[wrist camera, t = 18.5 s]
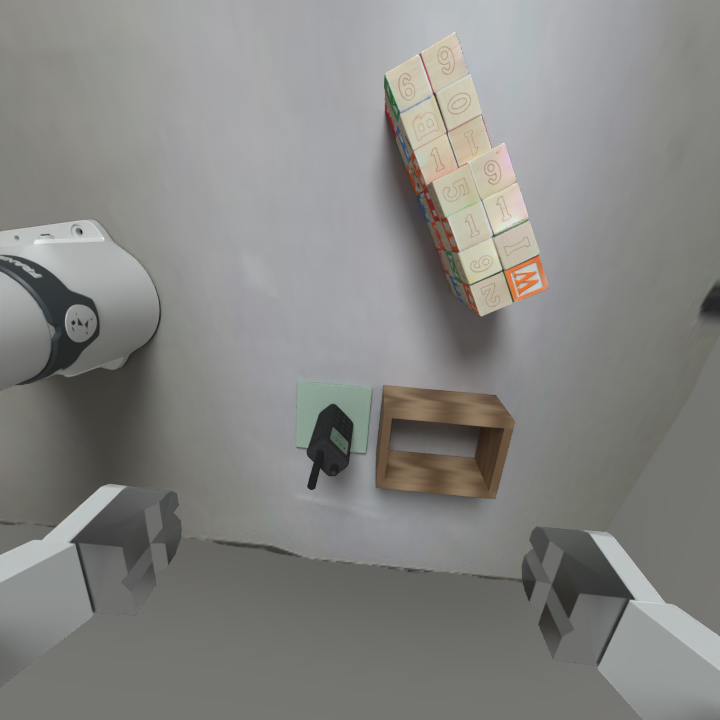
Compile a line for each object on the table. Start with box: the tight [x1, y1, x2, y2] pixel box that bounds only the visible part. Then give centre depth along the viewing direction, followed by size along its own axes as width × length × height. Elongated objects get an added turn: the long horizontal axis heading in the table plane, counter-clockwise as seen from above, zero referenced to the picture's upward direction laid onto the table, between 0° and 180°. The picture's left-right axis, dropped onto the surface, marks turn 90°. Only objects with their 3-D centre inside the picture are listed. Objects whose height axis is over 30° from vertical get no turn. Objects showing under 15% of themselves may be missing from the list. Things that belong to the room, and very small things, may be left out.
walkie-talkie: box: [307, 404, 354, 490], centre depth 42 cm, size 5×3×15 cm
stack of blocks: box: [384, 32, 549, 317], centre depth 34 cm, size 21×6×12 cm, turn 25°
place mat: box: [296, 381, 372, 453], centre depth 49 cm, size 10×10×1 cm
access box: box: [376, 385, 515, 499], centre depth 46 cm, size 15×11×7 cm
